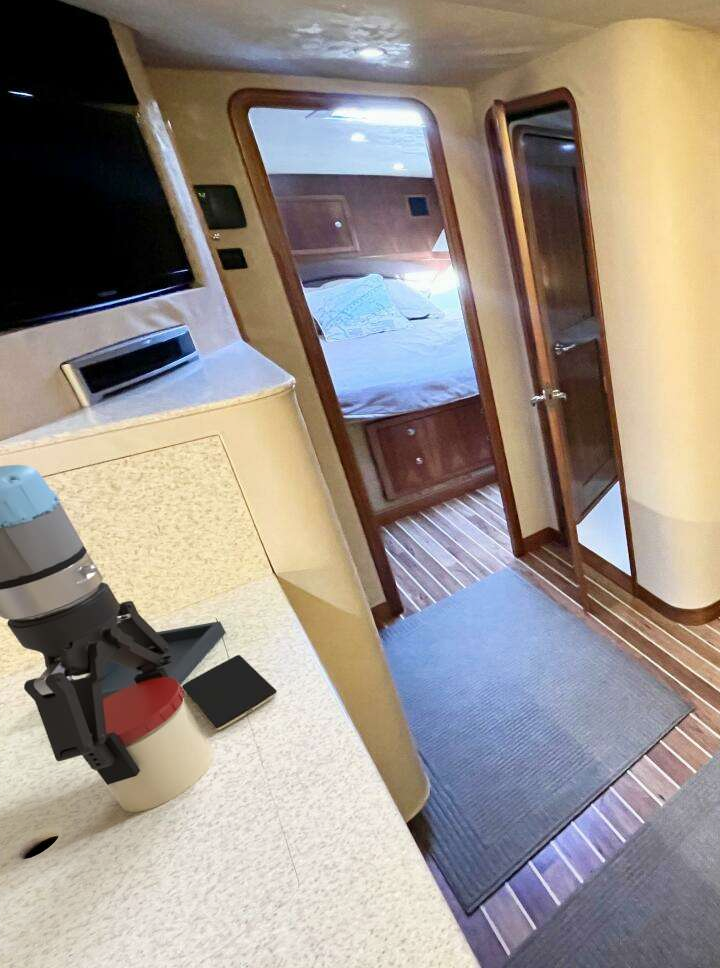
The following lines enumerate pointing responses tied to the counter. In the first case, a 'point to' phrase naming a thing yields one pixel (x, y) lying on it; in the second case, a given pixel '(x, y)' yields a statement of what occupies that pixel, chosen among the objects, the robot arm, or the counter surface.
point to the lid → (141, 707)
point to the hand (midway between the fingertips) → (148, 741)
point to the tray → (184, 651)
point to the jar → (164, 762)
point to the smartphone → (229, 691)
